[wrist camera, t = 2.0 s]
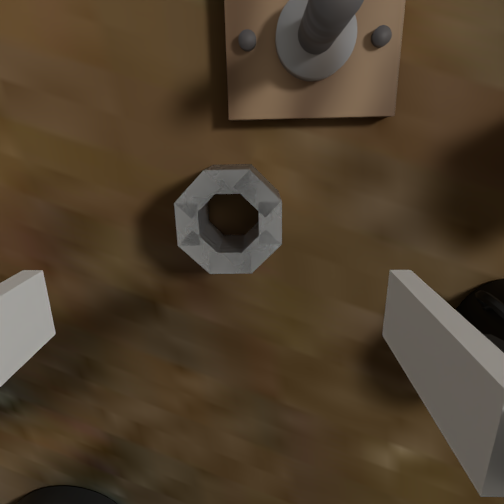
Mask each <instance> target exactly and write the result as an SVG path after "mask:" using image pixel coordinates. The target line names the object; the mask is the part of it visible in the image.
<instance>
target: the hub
mask: <svg viewBox="0 0 504 504" xmlns="http://www.w3.org/2000/svg"><path fill="white" fill-rule="evenodd" d="M214 194H241V195H242V196H243V197H244V198H245V199H246V200H247V201H248V202H249V203H250V204H251V205H252V206H253V207H255V208H256V209H257V210H258V211H259V221H258V222H257V223H256V224H255V225H254V226H253V227H252V228H251V229H250V230H249V231H248V232H247V233H246V234H245V235H224V234H223V233H222V232H221V231H220V230H219V229H218V228H217V227H215V226H214V225H213V224H212V223H211V222H210V221H209V208H208V201H209V200H210V199H211V198H212V196H213V195H214ZM174 208H175V220H176V231H177V242H178V246H179V247H180V248H181V249H182V250H183V251H184V252H185V253H187V254H188V255H189V256H190V257H191V258H192V259H193V260H195V261H196V262H197V263H198V264H199V265H200V266H201V267H203V268H204V269H205V270H206V271H207V272H208V273H209V274H236V273H253V272H254V271H255V270H256V269H257V268H258V267H259V266H260V265H261V264H262V263H263V262H264V261H265V260H266V259H267V258H268V257H269V256H270V255H271V254H272V253H273V252H274V251H275V250H276V249H277V248H278V247H279V246H280V245H282V200H281V197H280V194H279V191H278V190H277V189H276V188H275V187H274V186H273V185H272V184H271V183H270V182H269V181H268V180H267V179H266V178H265V177H264V176H263V175H262V174H261V173H260V172H259V171H258V170H257V169H256V168H255V167H254V166H253V165H252V164H236V165H212V166H210V167H209V168H207V169H205V170H203V171H202V173H201V174H200V175H199V176H198V177H197V178H196V179H195V180H194V181H193V183H192V184H191V185H190V186H189V187H188V188H187V189H186V190H185V191H184V193H183V194H182V195H181V196H180V197H179V198H178V199H177V200H176V202H175V203H174Z"/></svg>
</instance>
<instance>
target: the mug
mask: <svg viewBox="0 0 504 504" xmlns="http://www.w3.org/2000/svg"><path fill="white" fill-rule="evenodd" d="M456 311H457V312H458V313H459V314H461V315H462V316H463V317H464V318H465V319H466V320H467V321H468V322H470V323H471V324H472V325H473V326H474V327H475V328H476V329H477V330H479V331H480V332H481V333H482V334H491V335H493V336H495V337H497V338H499V339H501V340H503V341H504V279H502V280H497V281H494V282H491V283H488V284H486V285H484V286H482V287H480V288H478V289H477V290H475V291H474V292H472V293H471V294H470V295H469V296H468V297H467V298H466V299H465V300H464V301H463V302H462V303H461V304H460V306H459V307H458V309H457V310H456Z"/></svg>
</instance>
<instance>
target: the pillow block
mask: <svg viewBox="0 0 504 504" xmlns="http://www.w3.org/2000/svg"><path fill="white" fill-rule="evenodd" d="M224 7H225V34H226V60H227V86H228V112H229V120H230V121H238V120H280V119H323V118H365V117H390V116H395V106H396V95H397V85H398V74H399V64H400V53H401V43H402V32H403V21H404V11H405V0H224Z"/></svg>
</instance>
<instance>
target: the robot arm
mask: <svg viewBox="0 0 504 504" xmlns="http://www.w3.org/2000/svg"><path fill="white" fill-rule="evenodd" d="M55 334H56V333H55V328H54V323H53V318H52V313H51V308H50V303H49V298H48V294H47V289H46V284H45V279H44V274H43V270H23V271H21V272H19V273H18V274H16V275H14V276H12V277H10V278H9V279H7V280H5V281H3V282H1V283H0V387H1V386H2V385H3V384H4V383H5V382H6V381H7V380H8V379H9V378H10V377H11V376H12V375H13V374H14V373H15V372H16V371H17V370H19V369H20V368H21V367H22V366H23V365H24V364H25V363H26V362H27V361H28V360H29V359H30V358H31V357H32V356H33V355H34V354H35V353H36V352H37V351H38V350H39V349H41V348H42V347H43V346H44V345H45V344H46V343H47V342H48V341H49V340H50V339H51V338H52V337H53V336H54V335H55ZM382 336H383V337H384V339H385V341H386V342H387V344H388V346H389V347H390V349H391V350H392V352H393V354H394V355H395V357H396V359H397V360H398V362H399V364H400V365H401V367H402V369H403V370H404V372H405V373H406V375H407V377H408V378H409V380H410V382H411V383H412V385H413V387H414V388H415V390H416V391H417V393H418V395H419V396H420V398H421V400H422V401H423V403H424V405H425V406H426V408H427V410H428V411H429V413H430V414H431V416H432V418H433V419H434V421H435V423H436V424H437V426H438V428H439V429H440V431H441V432H442V434H443V436H444V437H445V439H446V441H447V442H448V444H449V446H450V447H451V449H452V451H453V452H454V454H455V455H456V457H457V459H458V460H459V462H460V464H461V465H462V467H463V469H464V470H465V472H466V473H467V475H468V477H469V478H470V480H471V482H472V483H473V485H474V487H475V488H476V490H477V492H478V493H479V495H480V496H481V497H504V341H503V340H501V339H499V338H497V337H495V336H493V335H491V334H482V333H481V332H480V331H479V330H477V329H476V328H475V327H474V326H473V325H472V324H471V323H470V322H468V321H467V320H466V319H465V318H464V317H463V316H462V315H461V314H459V313H458V312H457V311H456V310H455V309H454V308H453V307H452V306H450V305H449V304H448V303H447V302H446V301H445V300H444V299H443V298H441V297H440V296H439V295H438V294H437V293H436V292H435V291H434V290H432V289H431V288H430V287H429V286H428V285H427V284H426V283H425V282H424V281H422V280H421V279H420V278H419V277H418V276H417V275H416V274H415V273H413V272H412V271H411V270H390V272H389V281H388V290H387V298H386V307H385V315H384V324H383V333H382ZM17 504H117V503H115V502H114V501H112V500H111V499H109V498H107V497H105V496H103V495H101V494H99V493H96V492H94V491H90V490H87V489H83V488H78V487H70V486H55V487H47V488H43V489H39V490H37V491H34V492H32V493H30V494H28V495H26V496H25V497H24V498H22V499H21V500H20V501H19V502H18V503H17Z"/></svg>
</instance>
